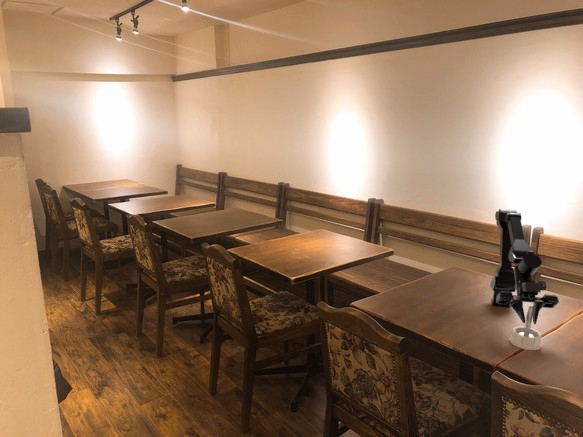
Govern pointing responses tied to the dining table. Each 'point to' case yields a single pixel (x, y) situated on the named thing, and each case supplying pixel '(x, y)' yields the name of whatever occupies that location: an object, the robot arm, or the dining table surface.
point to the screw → (528, 323)
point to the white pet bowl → (526, 339)
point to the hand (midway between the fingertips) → (529, 323)
